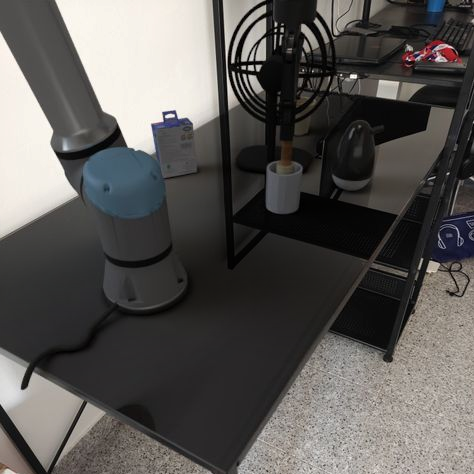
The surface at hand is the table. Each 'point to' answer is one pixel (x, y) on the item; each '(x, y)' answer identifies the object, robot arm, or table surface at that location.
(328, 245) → the table surface
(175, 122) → the ink cartridge box
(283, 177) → the white plastic cup
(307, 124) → the flower pot
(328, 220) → the table surface
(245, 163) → the desk fan
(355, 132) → the pump dispenser
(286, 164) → the brush
